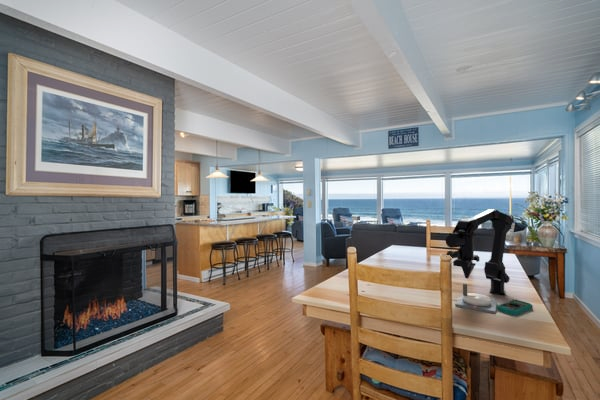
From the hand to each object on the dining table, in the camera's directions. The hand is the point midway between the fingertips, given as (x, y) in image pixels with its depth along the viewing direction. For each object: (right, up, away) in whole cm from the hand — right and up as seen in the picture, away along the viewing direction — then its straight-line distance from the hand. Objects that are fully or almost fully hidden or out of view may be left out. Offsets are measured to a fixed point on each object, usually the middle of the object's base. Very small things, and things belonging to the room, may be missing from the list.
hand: (466, 278), depth 140 cm
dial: (0, -9, -7) cm, 11 cm away
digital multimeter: (+13, -10, -14) cm, 22 cm away
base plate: (0, -10, -7) cm, 12 cm away
